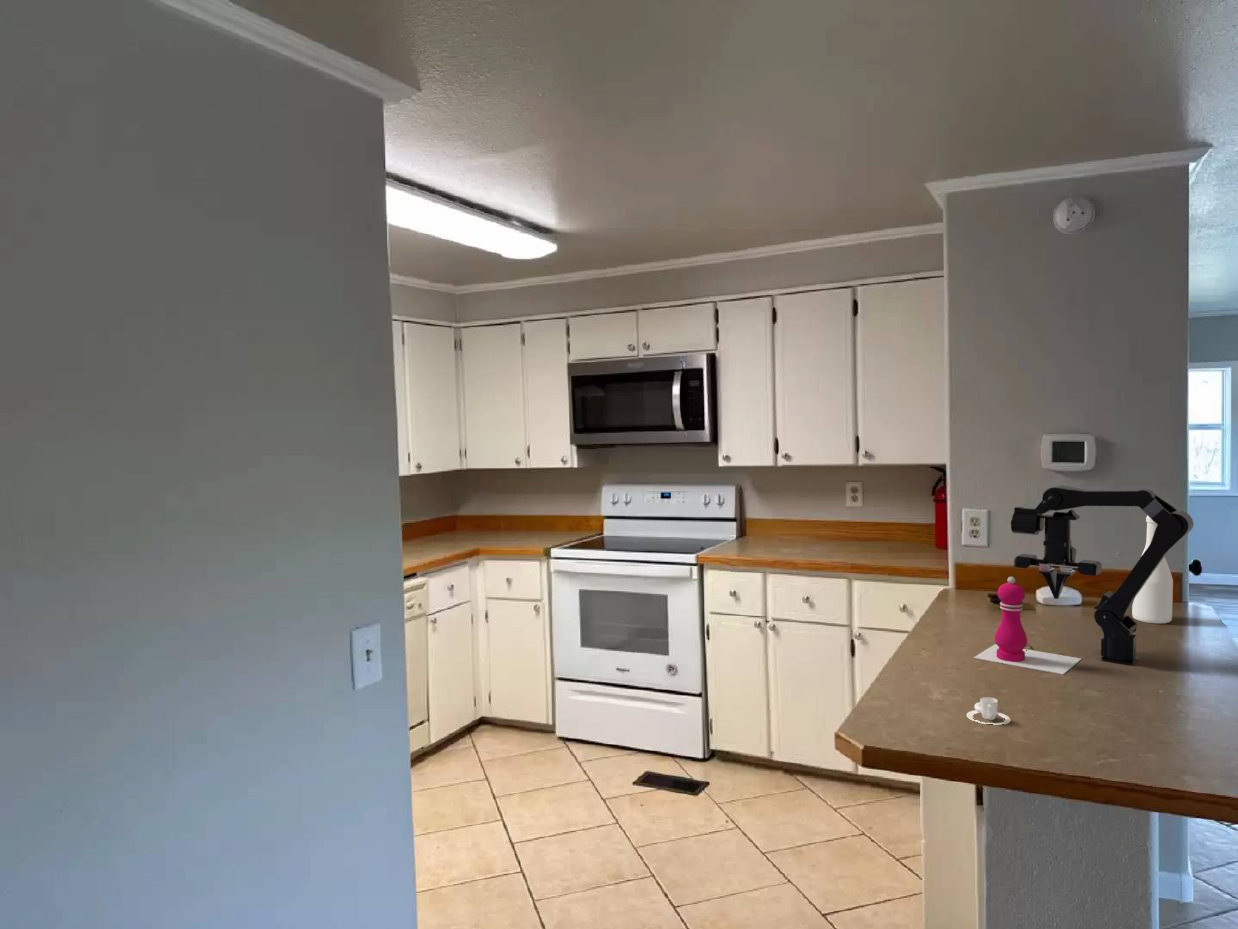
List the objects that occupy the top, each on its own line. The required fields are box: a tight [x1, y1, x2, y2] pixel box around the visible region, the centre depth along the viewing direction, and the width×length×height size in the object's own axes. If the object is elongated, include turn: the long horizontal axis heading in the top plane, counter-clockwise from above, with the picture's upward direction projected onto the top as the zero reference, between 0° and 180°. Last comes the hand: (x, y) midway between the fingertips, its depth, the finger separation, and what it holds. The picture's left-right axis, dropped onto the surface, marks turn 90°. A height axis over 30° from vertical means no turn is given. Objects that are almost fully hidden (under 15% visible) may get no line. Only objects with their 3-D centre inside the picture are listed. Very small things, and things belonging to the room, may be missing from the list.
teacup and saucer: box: [966, 696, 1011, 726], centre depth 165 cm, size 9×8×4 cm
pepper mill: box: [994, 576, 1028, 662], centre depth 202 cm, size 7×7×20 cm
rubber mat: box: [973, 643, 1082, 675], centre depth 202 cm, size 20×15×1 cm
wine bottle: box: [1131, 514, 1174, 624], centre depth 234 cm, size 10×10×30 cm
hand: (1056, 598), depth 208 cm, fingers closed
